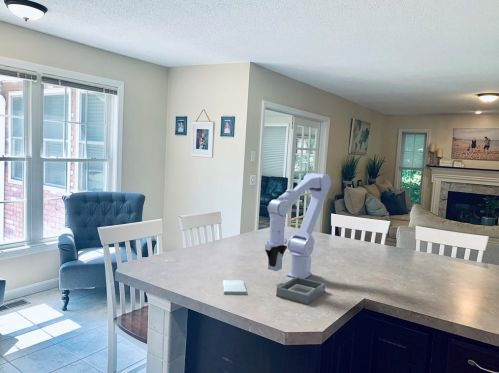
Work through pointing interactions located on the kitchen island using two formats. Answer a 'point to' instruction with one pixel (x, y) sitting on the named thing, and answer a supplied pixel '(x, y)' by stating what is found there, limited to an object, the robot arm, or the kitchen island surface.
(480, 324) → the kitchen island surface
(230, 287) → the hard drive
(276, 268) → the plug
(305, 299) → the dock
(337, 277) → the kitchen island surface
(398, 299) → the kitchen island surface
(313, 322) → the kitchen island surface
